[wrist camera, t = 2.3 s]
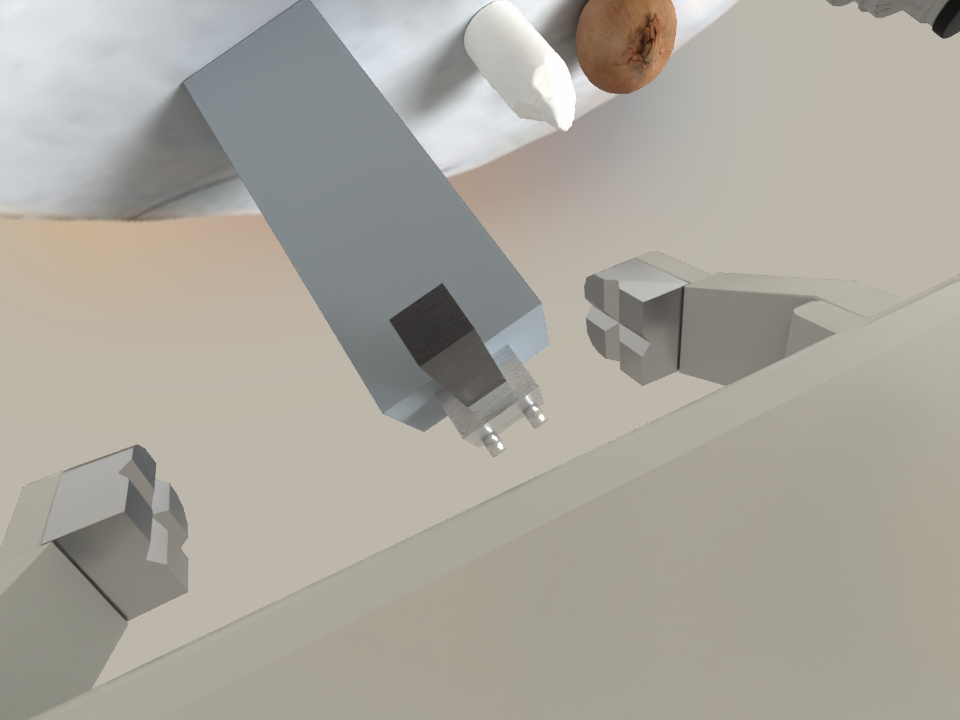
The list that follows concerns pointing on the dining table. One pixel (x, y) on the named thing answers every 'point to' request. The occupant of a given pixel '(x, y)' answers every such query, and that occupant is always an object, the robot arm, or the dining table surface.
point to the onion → (625, 42)
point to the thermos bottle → (915, 12)
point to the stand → (358, 205)
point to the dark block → (468, 371)
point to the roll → (521, 65)
